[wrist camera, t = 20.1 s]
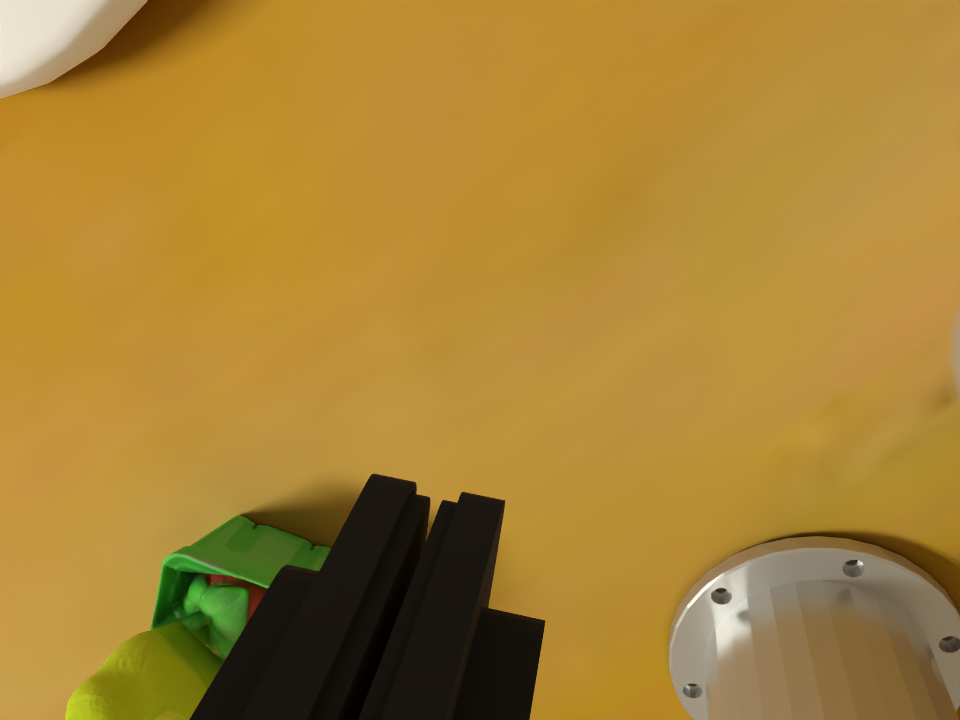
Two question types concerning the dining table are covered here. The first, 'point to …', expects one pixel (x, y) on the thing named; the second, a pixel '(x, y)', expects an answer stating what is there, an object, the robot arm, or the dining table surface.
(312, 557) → the fruit basket
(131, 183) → the dining table surface
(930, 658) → the robot arm
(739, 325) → the dining table surface
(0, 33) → the plate
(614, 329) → the dining table surface
